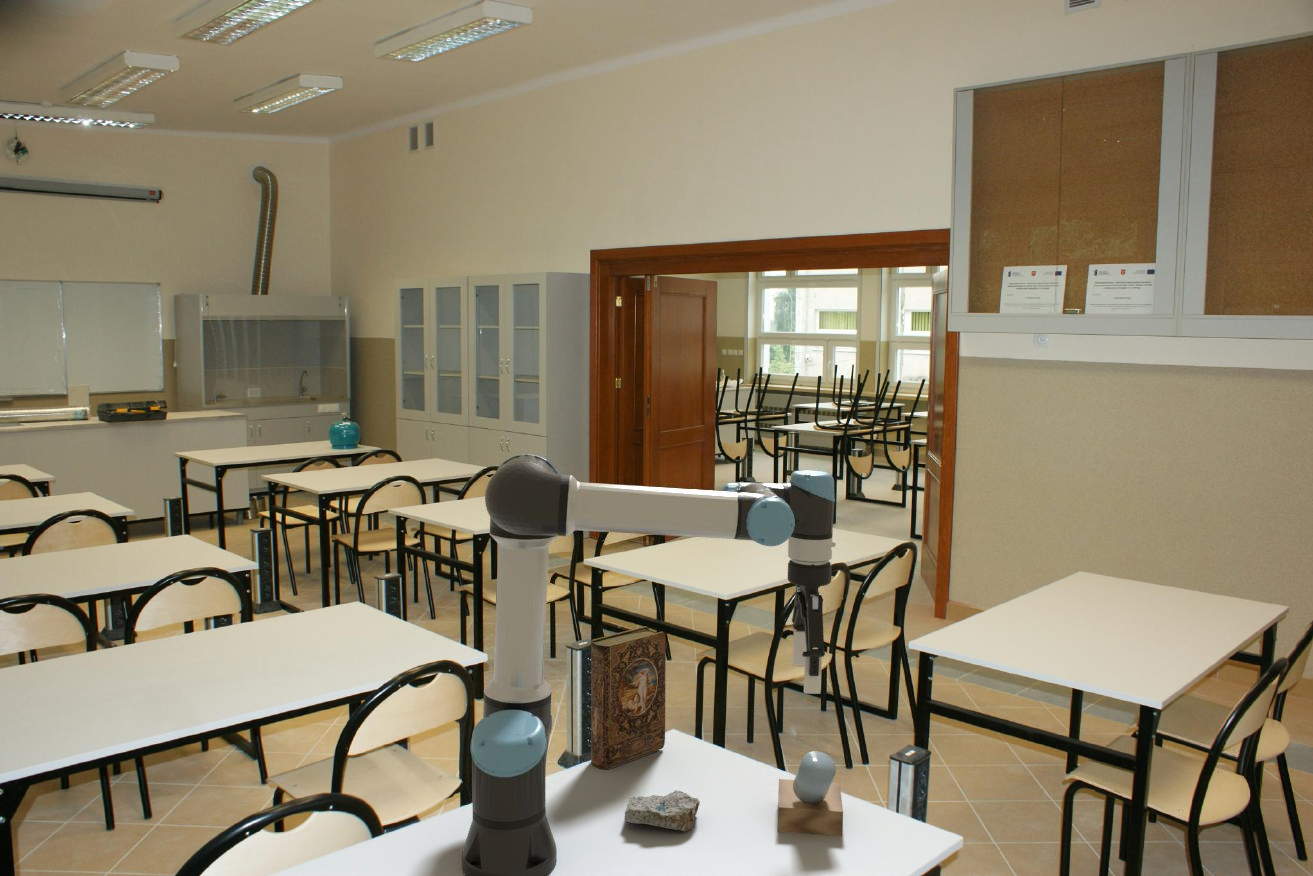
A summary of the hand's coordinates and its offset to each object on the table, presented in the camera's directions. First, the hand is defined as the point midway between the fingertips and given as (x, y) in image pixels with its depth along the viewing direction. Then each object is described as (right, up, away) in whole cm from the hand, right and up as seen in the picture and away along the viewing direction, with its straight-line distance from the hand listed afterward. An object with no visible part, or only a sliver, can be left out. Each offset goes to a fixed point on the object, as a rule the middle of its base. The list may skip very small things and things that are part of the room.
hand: (805, 679), depth 170 cm
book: (-32, -23, +28) cm, 49 cm away
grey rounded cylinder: (+1, -19, 0) cm, 19 cm away
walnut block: (+1, -26, +2) cm, 26 cm away
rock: (-25, -27, -3) cm, 37 cm away
